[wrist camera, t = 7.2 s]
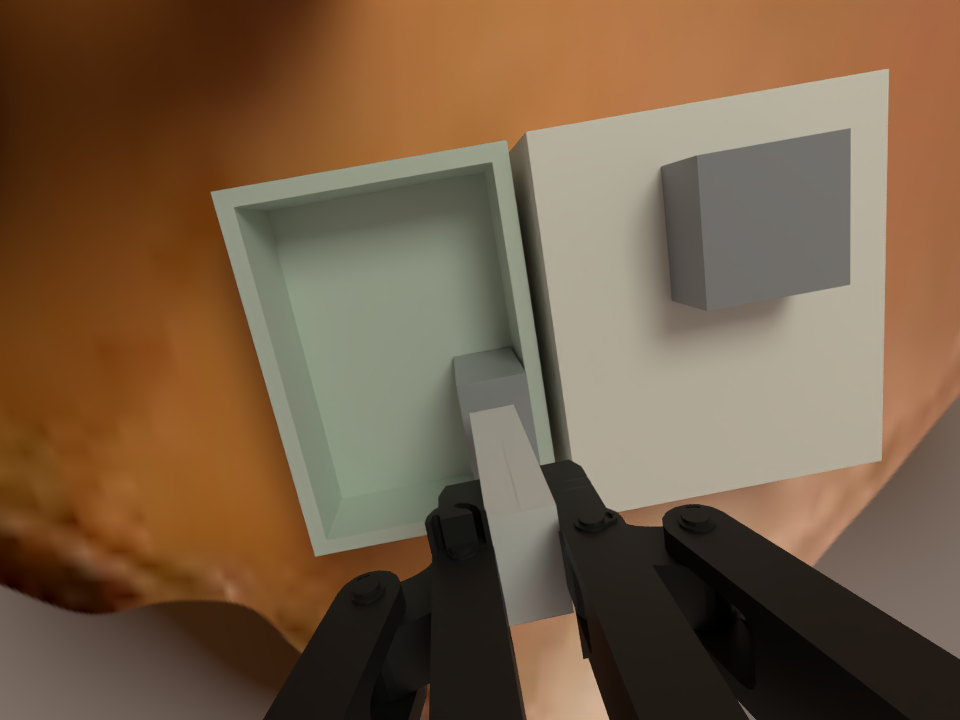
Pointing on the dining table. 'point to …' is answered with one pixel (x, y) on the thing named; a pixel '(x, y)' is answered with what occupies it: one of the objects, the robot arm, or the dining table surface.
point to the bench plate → (691, 331)
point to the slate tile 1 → (493, 391)
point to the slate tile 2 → (759, 221)
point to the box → (381, 327)
